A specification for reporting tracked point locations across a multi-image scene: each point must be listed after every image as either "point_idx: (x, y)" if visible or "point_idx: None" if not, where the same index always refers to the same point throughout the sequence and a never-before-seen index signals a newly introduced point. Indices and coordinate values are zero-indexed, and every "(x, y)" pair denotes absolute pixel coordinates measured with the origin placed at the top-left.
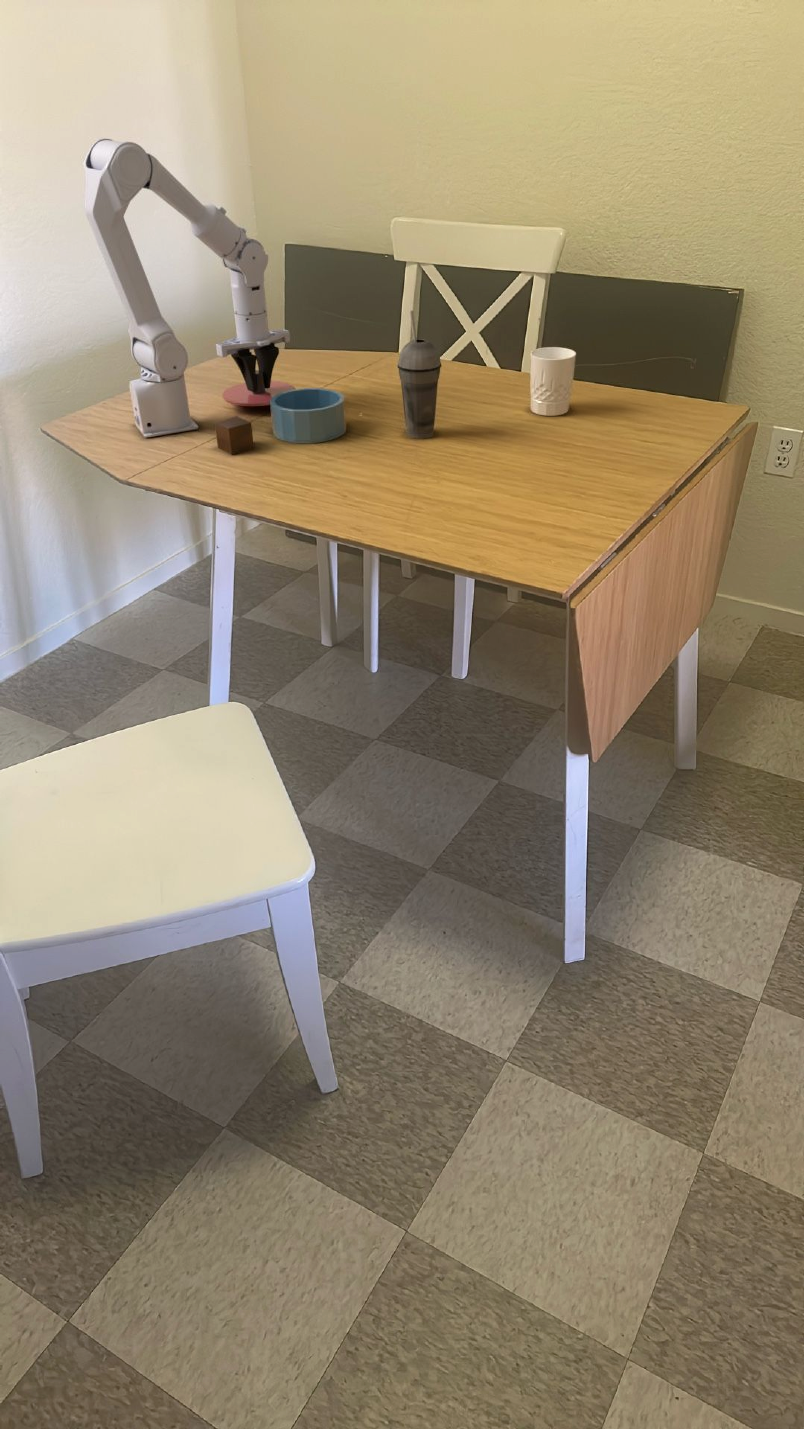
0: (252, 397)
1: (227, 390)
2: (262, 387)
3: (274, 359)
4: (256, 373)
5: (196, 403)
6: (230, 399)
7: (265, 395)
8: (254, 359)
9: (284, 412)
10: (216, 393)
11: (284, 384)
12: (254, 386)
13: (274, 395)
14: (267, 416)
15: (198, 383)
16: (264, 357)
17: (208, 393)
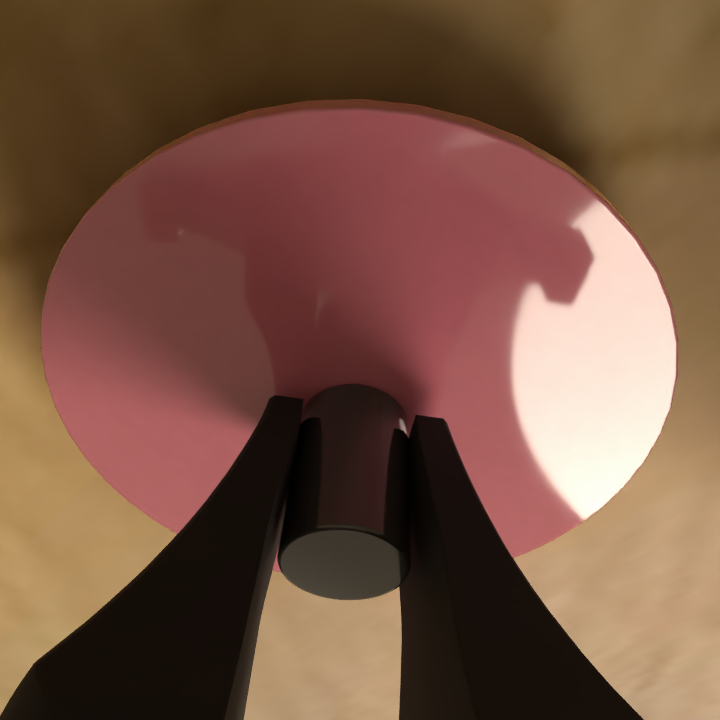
0: (502, 373)
1: None
2: (357, 417)
3: (143, 605)
4: (382, 550)
5: (545, 582)
6: (626, 456)
7: (394, 330)
8: (514, 712)
9: None
10: (370, 599)
11: (87, 397)
12: (446, 448)
13: (341, 270)
14: (552, 117)
15: (324, 685)
16: (238, 687)
17: (393, 617)
